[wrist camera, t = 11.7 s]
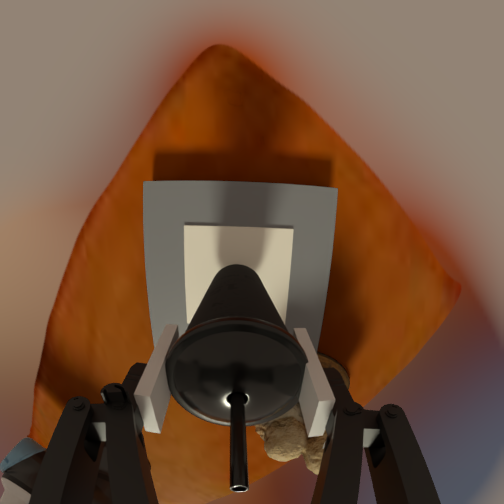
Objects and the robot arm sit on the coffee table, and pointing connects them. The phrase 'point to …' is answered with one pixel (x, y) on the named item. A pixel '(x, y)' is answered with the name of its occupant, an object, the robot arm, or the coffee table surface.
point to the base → (238, 246)
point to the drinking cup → (236, 362)
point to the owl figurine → (297, 430)
